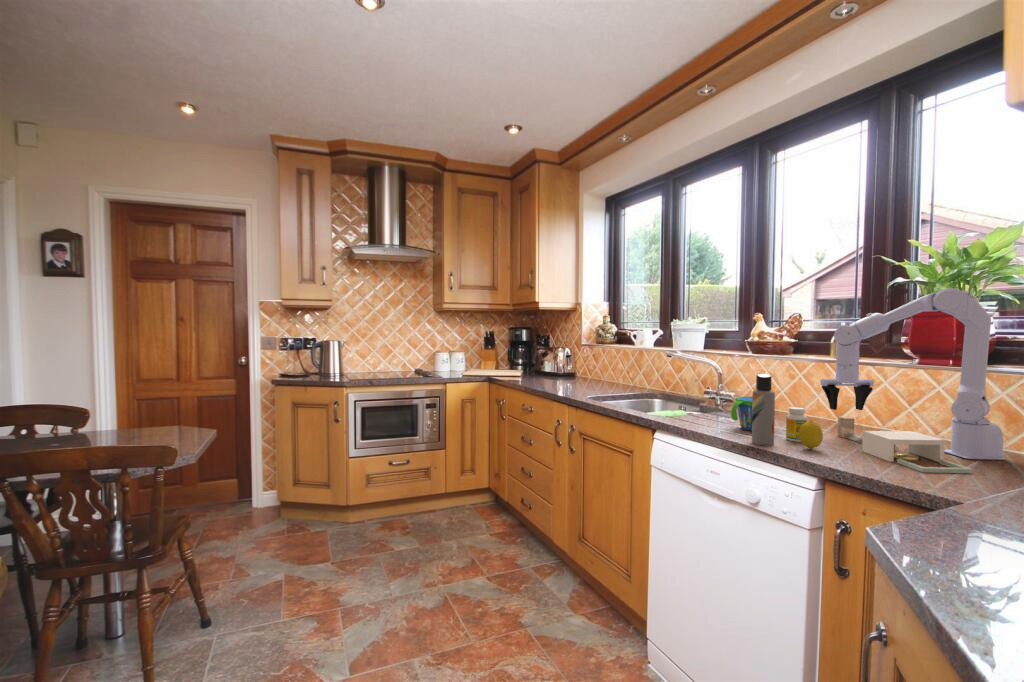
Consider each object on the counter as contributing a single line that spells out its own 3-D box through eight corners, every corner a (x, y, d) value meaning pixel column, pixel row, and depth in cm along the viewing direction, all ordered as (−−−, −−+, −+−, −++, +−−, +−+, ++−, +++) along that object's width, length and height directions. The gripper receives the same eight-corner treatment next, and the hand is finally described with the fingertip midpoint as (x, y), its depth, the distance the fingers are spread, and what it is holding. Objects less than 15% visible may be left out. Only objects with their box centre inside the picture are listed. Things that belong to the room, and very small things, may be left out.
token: (908, 457, 124) (908, 452, 123) (923, 462, 119) (924, 457, 118) (888, 456, 124) (888, 452, 124) (903, 462, 119) (903, 457, 119)
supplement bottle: (796, 437, 144) (797, 406, 144) (811, 441, 139) (812, 409, 138) (781, 438, 143) (782, 407, 142) (796, 442, 137) (796, 410, 137)
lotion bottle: (773, 442, 138) (774, 374, 137) (774, 446, 133) (776, 375, 132) (751, 440, 140) (752, 373, 140) (752, 444, 135) (753, 374, 134)
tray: (942, 463, 116) (942, 459, 116) (971, 473, 109) (971, 469, 109) (897, 462, 117) (897, 458, 117) (922, 472, 109) (922, 468, 109)
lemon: (826, 452, 127) (826, 423, 126) (803, 451, 128) (804, 422, 127) (817, 447, 132) (817, 419, 132) (795, 446, 133) (796, 418, 133)
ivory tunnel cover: (912, 452, 127) (912, 431, 127) (944, 462, 117) (944, 440, 117) (862, 451, 128) (862, 430, 128) (889, 461, 118) (889, 439, 118)
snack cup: (741, 433, 150) (742, 401, 149) (721, 426, 160) (722, 396, 160) (785, 431, 152) (786, 400, 152) (763, 425, 162) (763, 395, 162)
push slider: (833, 435, 147) (833, 416, 146) (851, 436, 146) (852, 416, 146) (873, 450, 129) (874, 428, 129) (895, 450, 128) (895, 429, 128)
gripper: (863, 364, 148) (861, 407, 148) (815, 364, 149) (814, 406, 149) (879, 366, 141) (878, 411, 141) (828, 365, 142) (827, 410, 142)
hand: (846, 409), depth 145 cm, fingers open, 7 cm apart
